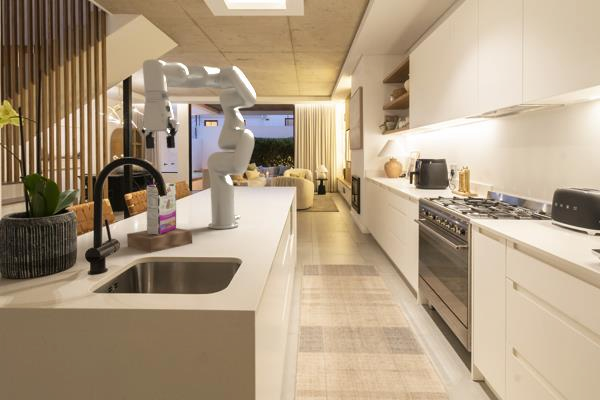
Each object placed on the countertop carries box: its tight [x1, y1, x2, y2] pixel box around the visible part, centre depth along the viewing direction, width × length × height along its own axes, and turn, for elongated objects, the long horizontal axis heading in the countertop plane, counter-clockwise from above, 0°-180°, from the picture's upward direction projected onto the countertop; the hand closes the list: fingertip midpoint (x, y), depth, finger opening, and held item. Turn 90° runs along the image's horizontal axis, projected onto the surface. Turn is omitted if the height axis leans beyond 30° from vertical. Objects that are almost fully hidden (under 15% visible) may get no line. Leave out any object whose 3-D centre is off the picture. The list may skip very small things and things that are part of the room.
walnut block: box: [126, 227, 193, 253], centre depth 142 cm, size 16×14×5 cm
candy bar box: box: [145, 182, 177, 235], centre depth 140 cm, size 11×5×16 cm, turn 167°
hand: (160, 148), depth 143 cm, fingers open, 9 cm apart
